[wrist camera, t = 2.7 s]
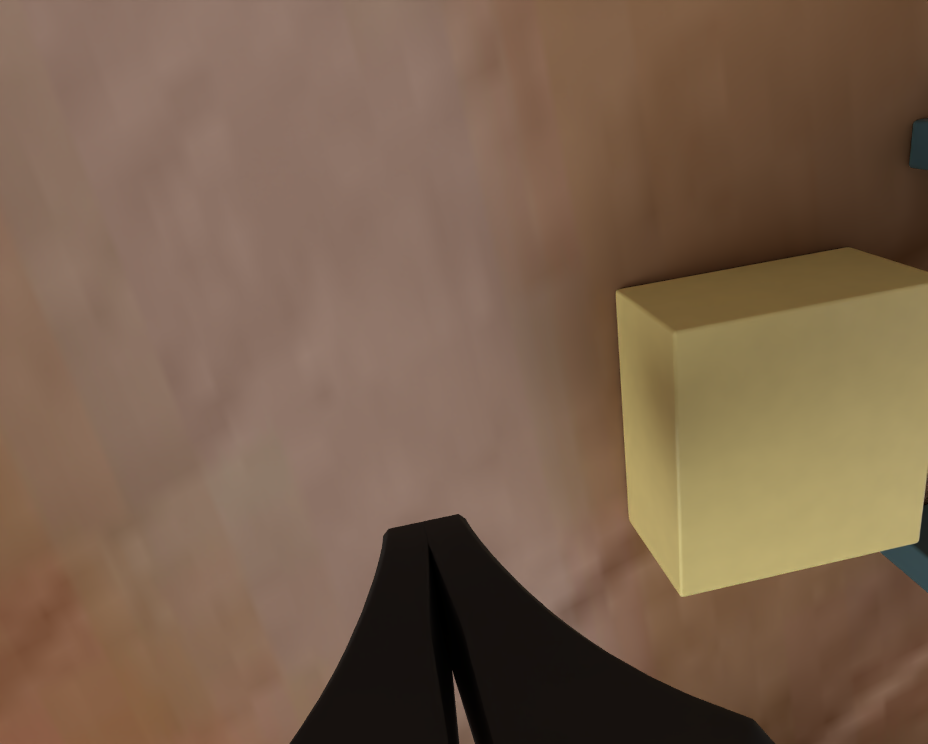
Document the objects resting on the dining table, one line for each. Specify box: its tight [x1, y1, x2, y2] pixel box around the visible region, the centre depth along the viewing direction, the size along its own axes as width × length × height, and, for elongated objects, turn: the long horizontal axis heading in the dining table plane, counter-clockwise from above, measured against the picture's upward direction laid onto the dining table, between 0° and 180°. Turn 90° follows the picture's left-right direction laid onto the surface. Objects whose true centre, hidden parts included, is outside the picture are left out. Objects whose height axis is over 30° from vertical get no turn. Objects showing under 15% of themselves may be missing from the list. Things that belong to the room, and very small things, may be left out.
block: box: [616, 247, 928, 597], centre depth 16 cm, size 6×6×3 cm
